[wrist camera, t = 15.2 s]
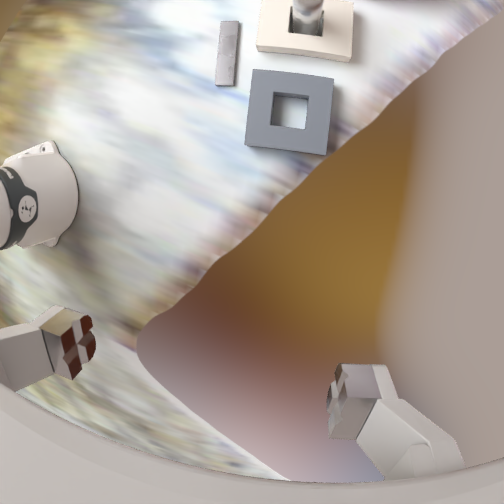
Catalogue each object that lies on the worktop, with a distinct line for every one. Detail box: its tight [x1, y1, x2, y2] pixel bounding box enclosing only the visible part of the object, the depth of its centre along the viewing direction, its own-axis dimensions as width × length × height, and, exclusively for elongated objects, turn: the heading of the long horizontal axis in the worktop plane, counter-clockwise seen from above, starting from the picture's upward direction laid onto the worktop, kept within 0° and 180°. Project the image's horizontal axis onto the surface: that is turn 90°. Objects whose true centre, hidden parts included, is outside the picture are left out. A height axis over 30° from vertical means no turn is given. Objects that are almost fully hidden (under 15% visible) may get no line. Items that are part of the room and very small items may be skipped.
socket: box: [244, 69, 334, 155], centre depth 35 cm, size 10×10×2 cm
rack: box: [256, 0, 353, 63], centre depth 31 cm, size 12×9×2 cm
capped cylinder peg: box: [293, 0, 324, 36], centre depth 25 cm, size 3×3×15 cm
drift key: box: [215, 21, 239, 86], centre depth 35 cm, size 10×2×1 cm, turn 176°
